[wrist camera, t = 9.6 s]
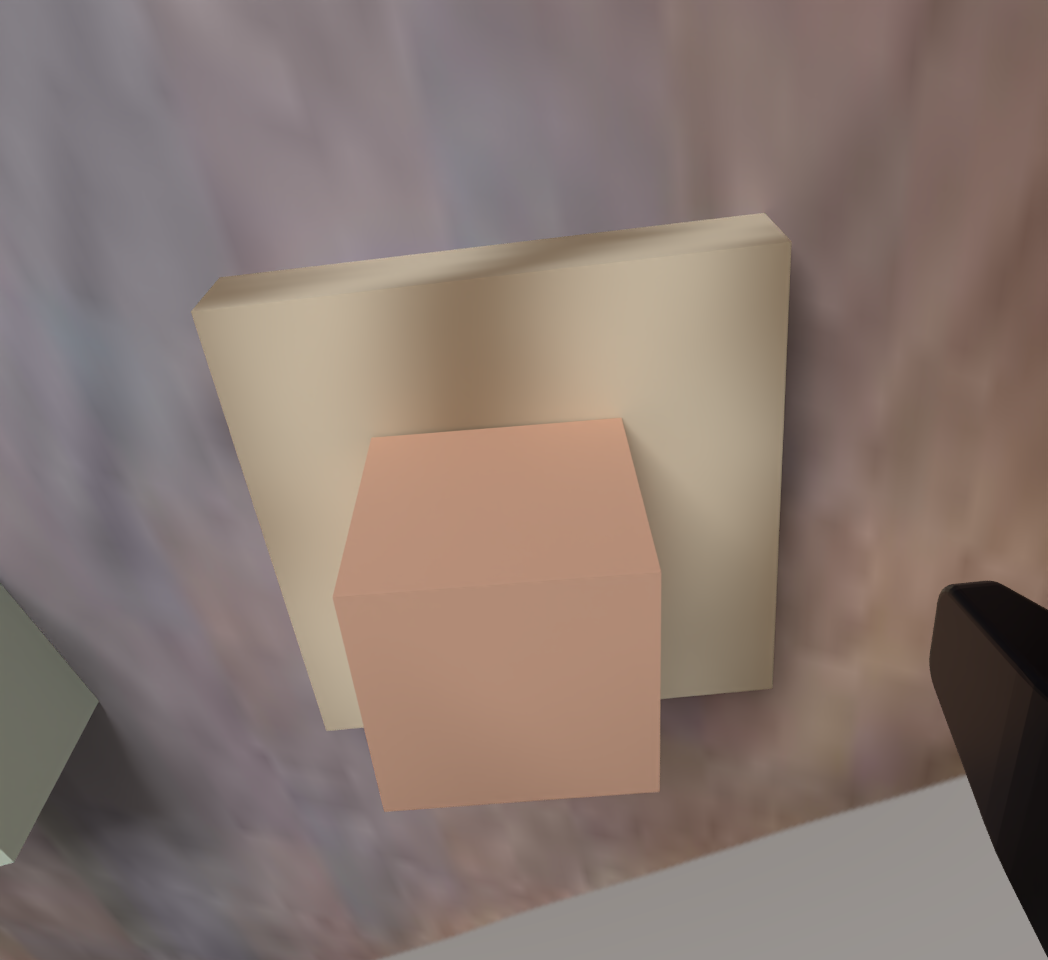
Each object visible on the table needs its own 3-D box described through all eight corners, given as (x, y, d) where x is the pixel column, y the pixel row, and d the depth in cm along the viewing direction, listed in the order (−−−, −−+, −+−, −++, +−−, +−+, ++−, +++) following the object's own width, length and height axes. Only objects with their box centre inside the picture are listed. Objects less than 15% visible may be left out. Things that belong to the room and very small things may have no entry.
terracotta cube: (621, 418, 18) (661, 572, 13) (625, 611, 20) (659, 791, 16) (371, 437, 18) (332, 597, 14) (407, 628, 20) (384, 811, 16)
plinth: (757, 206, 18) (791, 241, 16) (748, 621, 24) (772, 688, 22) (226, 268, 19) (191, 311, 16) (342, 661, 24) (326, 731, 22)
